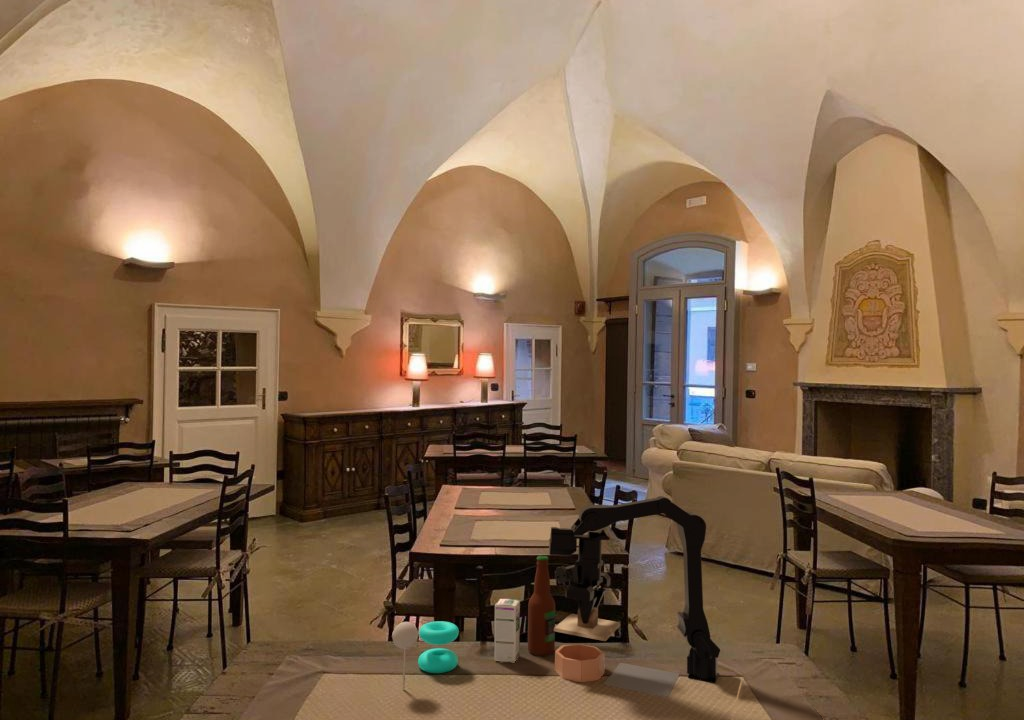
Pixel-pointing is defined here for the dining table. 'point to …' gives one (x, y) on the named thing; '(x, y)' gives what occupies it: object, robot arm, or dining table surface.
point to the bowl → (579, 662)
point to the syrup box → (507, 630)
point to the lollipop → (405, 639)
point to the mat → (642, 679)
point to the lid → (588, 626)
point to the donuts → (438, 657)
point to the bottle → (541, 613)
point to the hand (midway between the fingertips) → (587, 620)
